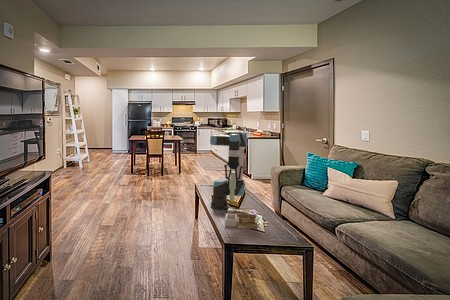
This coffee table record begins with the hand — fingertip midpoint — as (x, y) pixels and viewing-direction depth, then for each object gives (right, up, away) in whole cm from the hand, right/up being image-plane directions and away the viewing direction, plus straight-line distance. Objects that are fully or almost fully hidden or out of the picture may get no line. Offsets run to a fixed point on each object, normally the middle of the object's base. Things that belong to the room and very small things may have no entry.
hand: (232, 188), depth 239 cm
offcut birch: (+10, -27, -2) cm, 29 cm away
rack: (+10, -26, +1) cm, 28 cm away
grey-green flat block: (0, -8, +1) cm, 8 cm away
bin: (-1, -25, +3) cm, 26 cm away
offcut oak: (+10, -22, -2) cm, 25 cm away
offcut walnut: (+10, -24, -2) cm, 27 cm away
